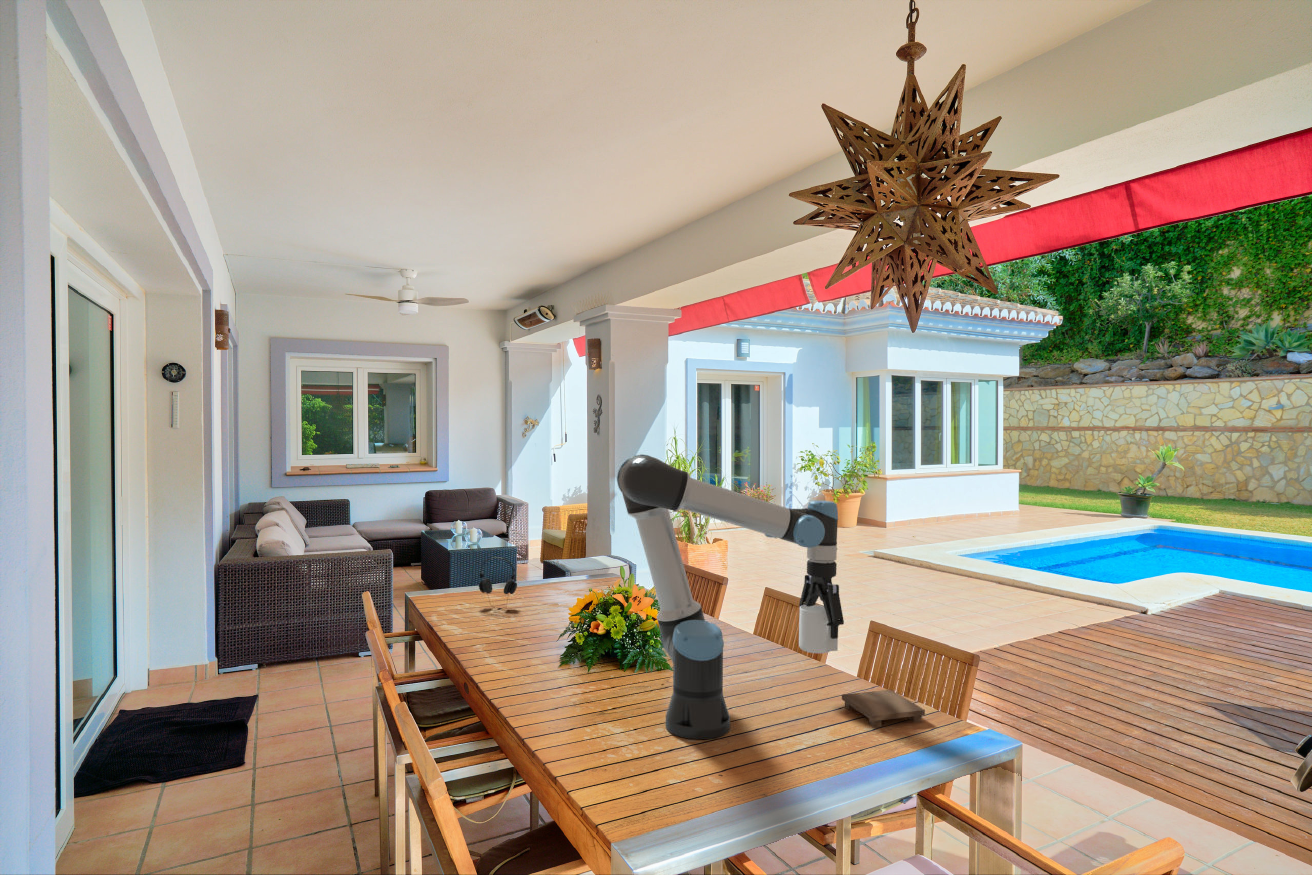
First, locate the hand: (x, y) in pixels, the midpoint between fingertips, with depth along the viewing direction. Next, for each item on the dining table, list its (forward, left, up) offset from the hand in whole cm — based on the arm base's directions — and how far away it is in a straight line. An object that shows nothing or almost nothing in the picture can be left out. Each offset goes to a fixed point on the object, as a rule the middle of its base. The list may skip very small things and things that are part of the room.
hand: (819, 643), depth 186 cm
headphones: (-77, +116, -14) cm, 140 cm away
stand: (+9, -14, -14) cm, 22 cm away
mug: (0, 0, -2) cm, 2 cm away
